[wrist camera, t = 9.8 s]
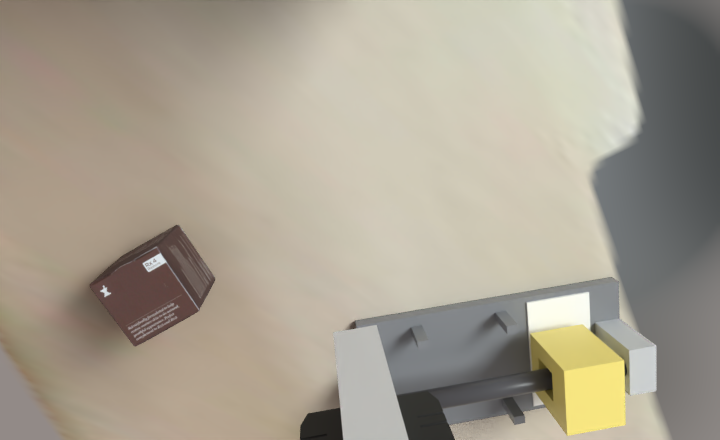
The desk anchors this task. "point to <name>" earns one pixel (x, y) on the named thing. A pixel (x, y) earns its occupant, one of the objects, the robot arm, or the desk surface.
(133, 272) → the box
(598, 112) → the desk surface
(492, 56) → the desk surface
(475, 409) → the gray rail plate
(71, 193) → the desk surface
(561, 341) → the sleeve
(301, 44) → the desk surface
